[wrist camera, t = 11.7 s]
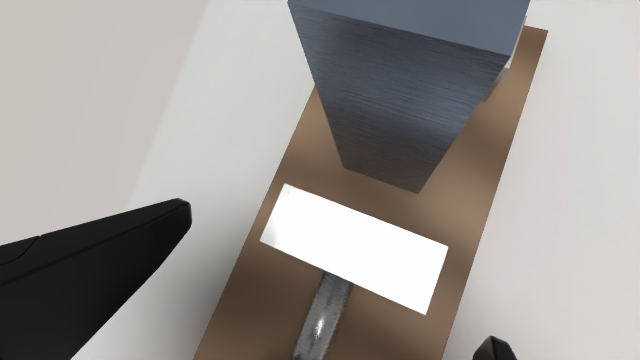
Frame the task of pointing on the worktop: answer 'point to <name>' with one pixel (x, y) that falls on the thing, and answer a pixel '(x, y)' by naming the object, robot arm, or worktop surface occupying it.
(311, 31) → the steel block
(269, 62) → the worktop surface
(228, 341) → the base
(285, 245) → the block
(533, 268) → the worktop surface
